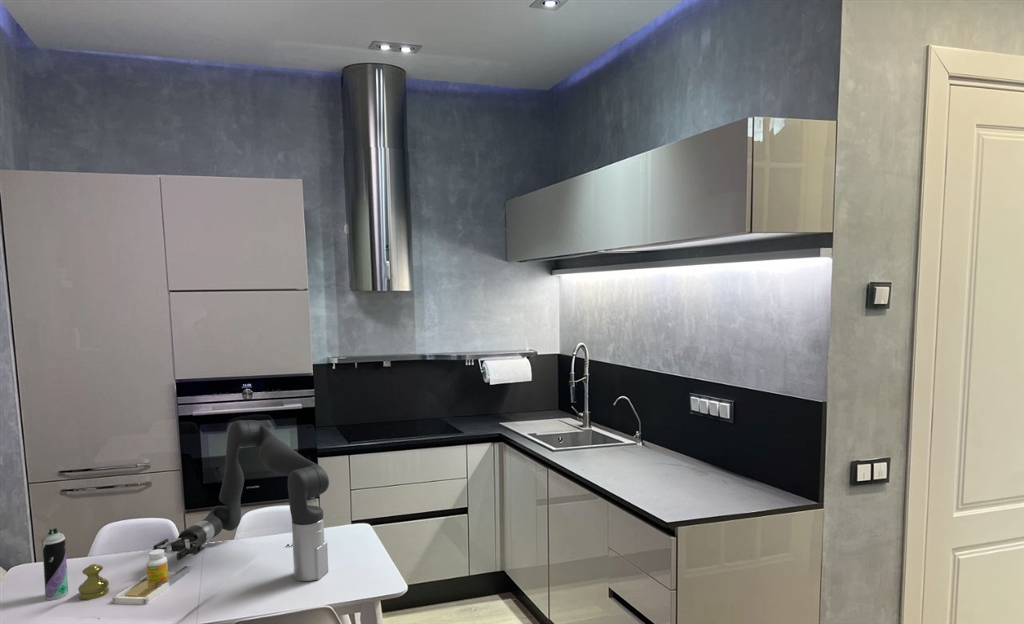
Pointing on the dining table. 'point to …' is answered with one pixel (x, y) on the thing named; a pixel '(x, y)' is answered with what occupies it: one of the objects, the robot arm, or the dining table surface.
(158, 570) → the supplement bottle
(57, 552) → the spray can
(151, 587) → the chip
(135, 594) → the tan block
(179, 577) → the rail
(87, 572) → the gold metal knob shape
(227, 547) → the dining table surface
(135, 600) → the tray
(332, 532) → the dining table surface
